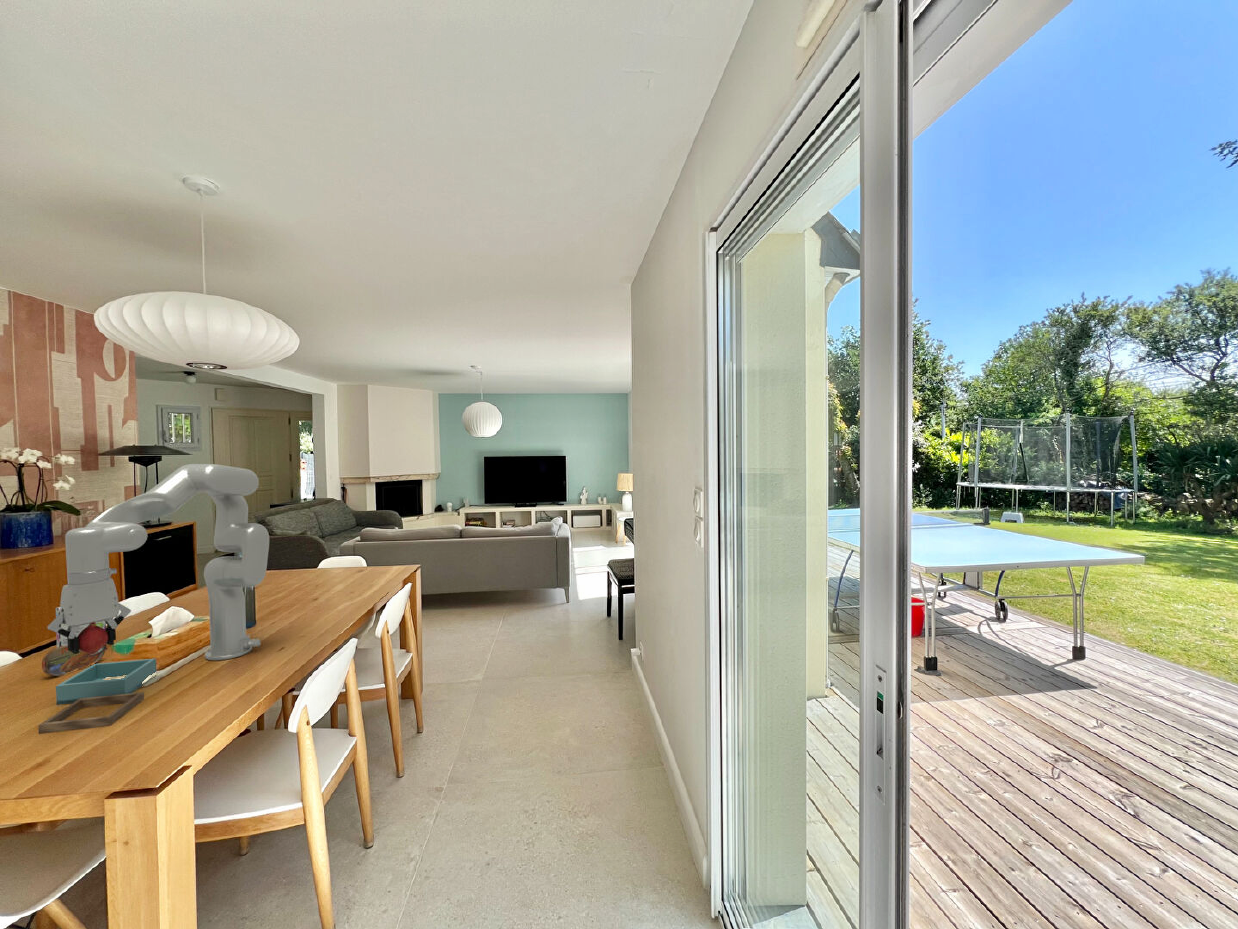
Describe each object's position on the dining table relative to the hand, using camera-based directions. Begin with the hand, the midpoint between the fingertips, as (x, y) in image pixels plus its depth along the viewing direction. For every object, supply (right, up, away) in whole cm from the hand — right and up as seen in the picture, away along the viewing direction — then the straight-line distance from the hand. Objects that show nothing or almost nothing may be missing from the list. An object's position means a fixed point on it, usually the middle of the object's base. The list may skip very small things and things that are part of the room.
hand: (92, 647), depth 137 cm
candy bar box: (-43, -16, +41) cm, 61 cm away
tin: (-33, -17, +29) cm, 47 cm away
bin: (-10, -17, +15) cm, 25 cm away
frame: (0, -17, 0) cm, 17 cm away
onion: (0, -2, 0) cm, 2 cm away
